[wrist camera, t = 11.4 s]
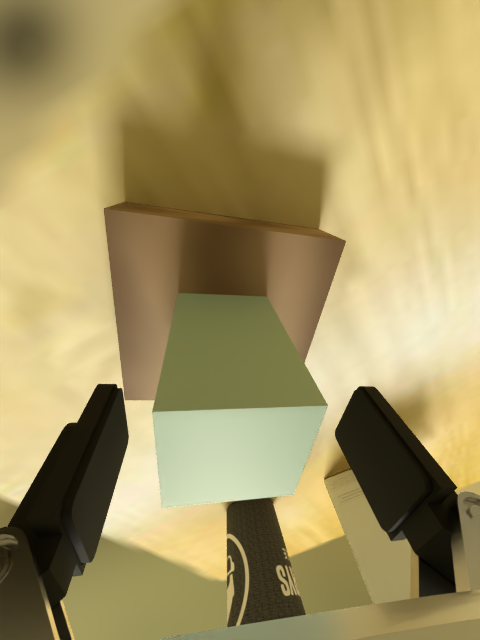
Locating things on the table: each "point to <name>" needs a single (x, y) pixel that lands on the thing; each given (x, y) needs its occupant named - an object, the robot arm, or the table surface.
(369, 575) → the supplement box
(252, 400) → the sage block
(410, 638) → the robot arm
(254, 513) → the coffee cup
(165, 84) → the table surface
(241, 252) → the block
